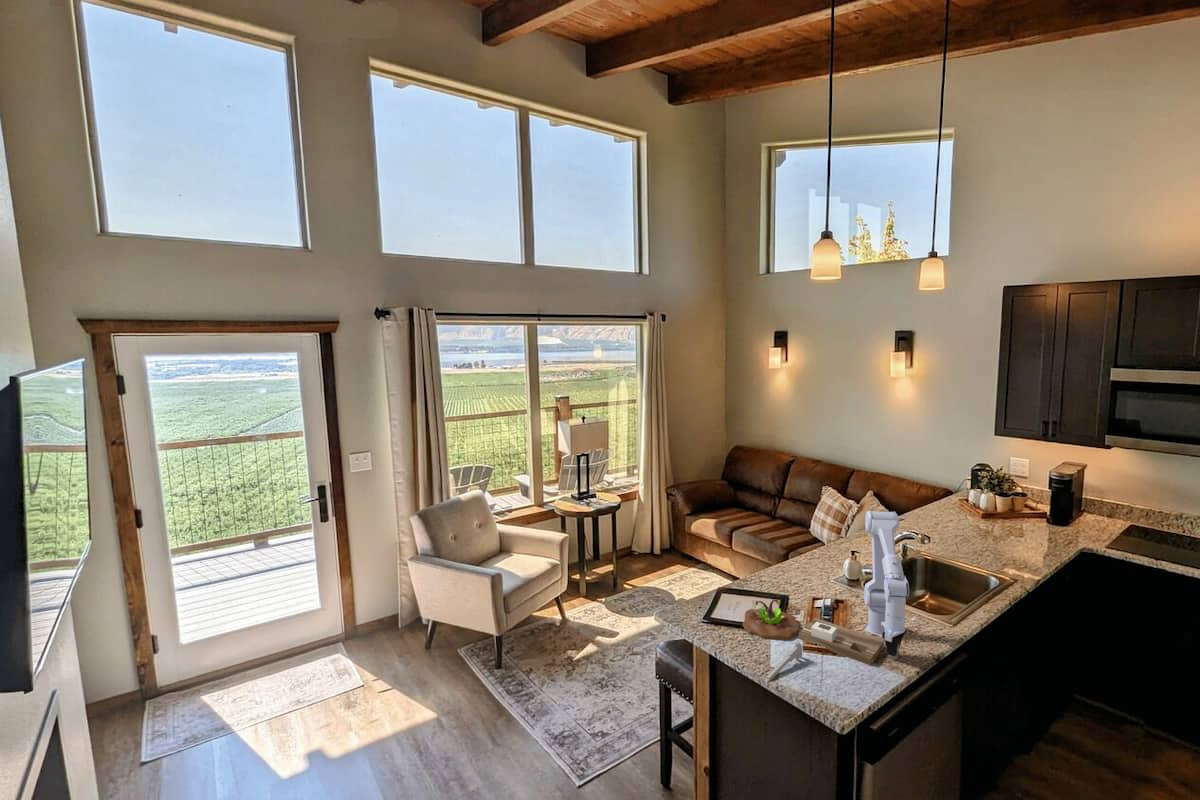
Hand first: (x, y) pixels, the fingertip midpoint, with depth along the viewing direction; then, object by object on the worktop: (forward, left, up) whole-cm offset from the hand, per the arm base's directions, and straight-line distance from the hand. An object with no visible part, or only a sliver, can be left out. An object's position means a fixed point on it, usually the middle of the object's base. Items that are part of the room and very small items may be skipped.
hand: (893, 652), depth 188 cm
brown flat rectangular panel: (+3, -16, -2) cm, 16 cm away
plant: (+8, -39, -2) cm, 40 cm away
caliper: (+31, -24, -3) cm, 39 cm away
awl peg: (0, 0, -2) cm, 2 cm away
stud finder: (+6, -21, +1) cm, 22 cm away
